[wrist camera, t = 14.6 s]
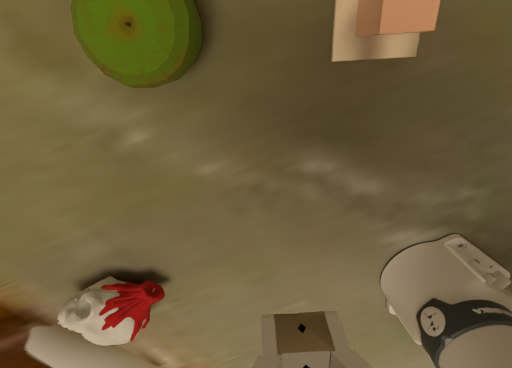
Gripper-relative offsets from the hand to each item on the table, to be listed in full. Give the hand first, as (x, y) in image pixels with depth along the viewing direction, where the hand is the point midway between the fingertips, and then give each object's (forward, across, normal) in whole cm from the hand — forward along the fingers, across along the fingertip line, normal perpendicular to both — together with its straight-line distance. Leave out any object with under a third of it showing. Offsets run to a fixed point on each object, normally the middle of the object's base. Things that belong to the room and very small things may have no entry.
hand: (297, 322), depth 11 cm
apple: (+29, +12, -13) cm, 34 cm away
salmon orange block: (+28, -14, -13) cm, 34 cm away
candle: (+29, +25, +27) cm, 47 cm away
